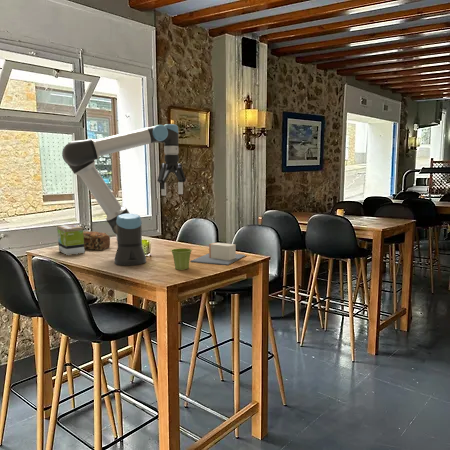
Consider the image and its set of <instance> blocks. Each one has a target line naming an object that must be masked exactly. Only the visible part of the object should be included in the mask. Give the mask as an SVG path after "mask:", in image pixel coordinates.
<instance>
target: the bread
mask: <svg viewBox="0 0 450 450" xmlns="http://www.w3.org/2000/svg"><path fill="white" fill-rule="evenodd" d="M83 234H84V250H85V249H95V250H94V251H96V250H97V251H103V249H104V250H105V249H109V248H110V246H111V237H110V235H109V234H107V233H106V232H100V231H85V230H83Z"/></svg>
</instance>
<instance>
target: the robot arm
mask: <svg viewBox="0 0 450 450" xmlns="http://www.w3.org/2000/svg"><path fill="white" fill-rule="evenodd" d="M179 134H180V133H179V127H178V125H177V124H173V123H166V124H164V125H163V124H156V125H153V126H149V127H148V126H146V127H142V128H140V129H136V130H132V131H129V132H124V133H120V134H115V135H110V136H108V137H103V138H99V139H93V138H88V139H84V140H83V139H82V140H72V141H70V142H68V143H67V144H66V145H65V146H64V147H63V148H62V153H61V155H62V158H63V161H64V162H65V164H67V166H68V167H69V168H70V170H71V171H72V173H73V174H74V175H77V176H79V177H80V179H81V180H82V183H84V184H85V186H86V188H87V189H88V190H89V191H90V193H91V195H92V196H93V197H94V199H95V201H96V202H97V204H99V206H100V208H101V209H102V211H103V212H104V213H105V215H106V219H105V221H106V222H107V224H108V225H109V226H110V228H111V231H112V232H113V233H114V234H115V236H116V235H117V239H116V241H117V242H116V243H117V248H116V253H115V256H114V264H115V265H117V266H139V265H142V264H145V263H146V262H147V257H146V254H145V250H144V247H143V242H142V241H143V235H142V223H143V222H142V217H141V216H140V215H139V214H136V213H130V212H129V210H128V208H127V207H126V206H125V207H124V206H122V205H121V203H120V202H119V200H118V199H117V197H116V196H115V195H114V193H113V192H112V190H111V188H110V187H109V186H108V185H107V183H106V181H105V180H104V178H103V177H102V176H101V174H100V172H99V171H98V169H97V168H96V166H95V165H96V164H95V163H96V160H99V159H100V157H103V156H107V155H110V154H114V153H118V152H122V151H126V150H129V149H133V148H138V147H142V146H145V145H149V144H154V143H155V144H156V143H158V144H163V146H164V147H163V149H164V156H163V157H164V162H165V163H161V165H160V170H159V174H158V177H157V182H158V183H159V184H160V191H161V196H167V182H166V181H167V178H168V177H169V175H170V174H171V173H173V174H174V175H175V177H176V179H177V181H178V182H177V186H178V187H177V190H178V191H177V194H178V195H183V194H184V183H185V182H186V181H187V179H186V176H185V173H184V169H183V164H182V163H179V162H180V158H179V157H180V156H179V153H180V152H179V150H180V149H179Z"/></svg>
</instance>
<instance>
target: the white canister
mask: <svg viewBox="0 0 450 450" xmlns="http://www.w3.org/2000/svg"><path fill="white" fill-rule="evenodd" d="M236 245H237V244H232V243H225V242H213V243H209V245H208V248H209V249H208V250H209V251H208V252H209V258H215V259H222V260H232V259H235V258H236V254H237V252H236V250H237V249H236Z"/></svg>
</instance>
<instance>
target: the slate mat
mask: <svg viewBox="0 0 450 450" xmlns="http://www.w3.org/2000/svg"><path fill="white" fill-rule="evenodd" d="M245 255H246V254H240V253H236V258H235V259H232V260H222V259H215V258H209V253H206V254H204V255H202V256H199V257H196V258H194V259H191V260H190V263H197V264H198V263H199V264H209V265H220V266H221V265H222V266H230V265H231V263H232V264H233V262H234V263H236V262H238V261H239V260H241V259H243V258H245V257H246V256H245ZM244 256H245V257H244ZM242 257H243V258H242ZM240 258H241V259H240ZM238 259H239V260H238ZM235 261H236V262H235ZM229 264H230V265H229Z"/></svg>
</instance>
